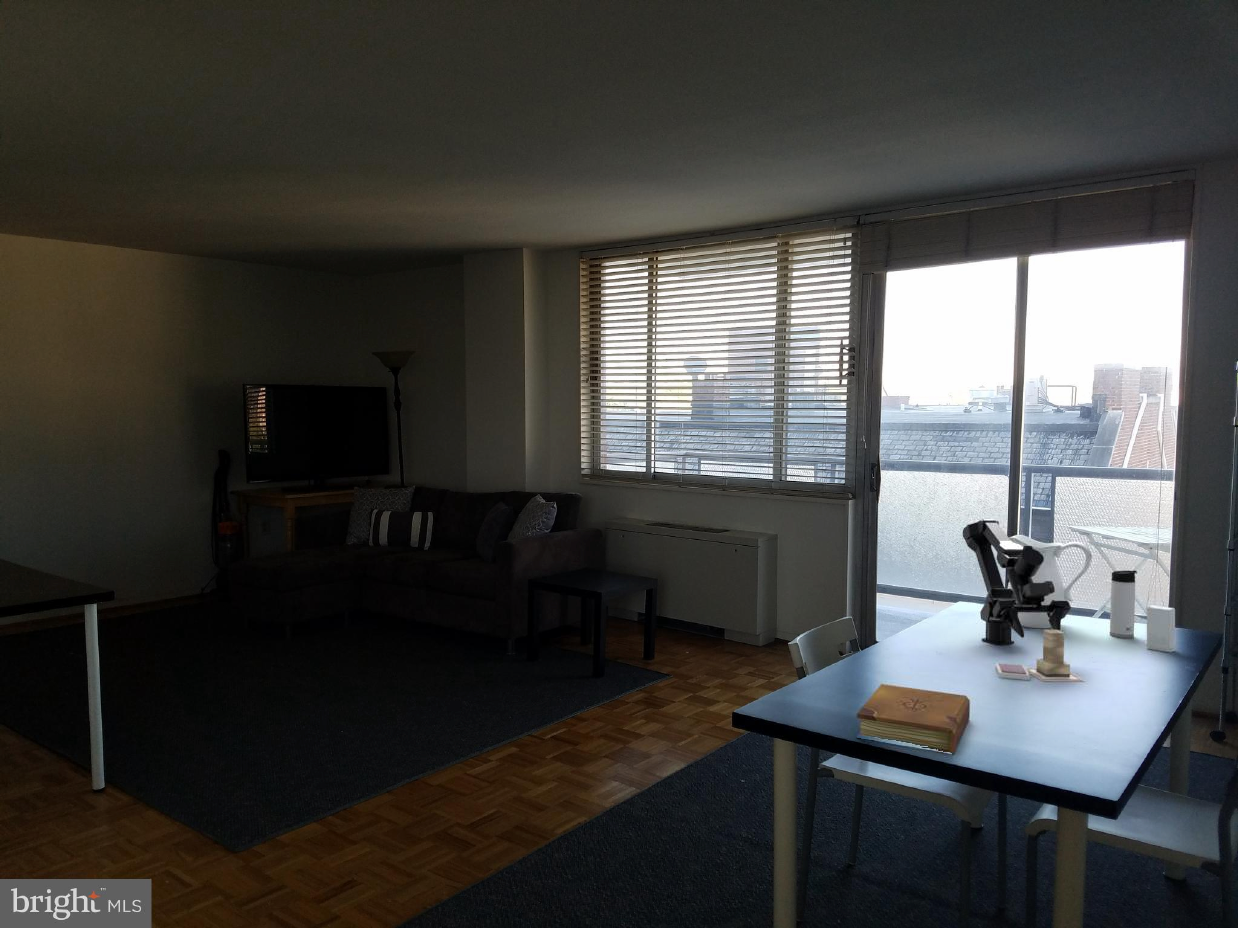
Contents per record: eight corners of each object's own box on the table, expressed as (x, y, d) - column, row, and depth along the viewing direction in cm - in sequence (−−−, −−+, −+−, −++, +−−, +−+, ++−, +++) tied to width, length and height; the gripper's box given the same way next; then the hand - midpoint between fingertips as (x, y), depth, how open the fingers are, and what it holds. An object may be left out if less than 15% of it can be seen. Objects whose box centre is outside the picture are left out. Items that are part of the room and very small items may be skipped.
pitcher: (998, 624, 276) (1000, 537, 274) (1017, 616, 288) (1018, 532, 287) (1081, 637, 259) (1083, 544, 258) (1096, 627, 272) (1099, 539, 270)
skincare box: (1175, 650, 245) (1176, 607, 244) (1169, 653, 242) (1170, 610, 241) (1151, 646, 249) (1152, 604, 249) (1145, 648, 247) (1146, 606, 246)
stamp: (1045, 676, 218) (1046, 633, 218) (1036, 671, 223) (1037, 628, 223) (1069, 676, 218) (1070, 633, 218) (1059, 671, 223) (1060, 628, 223)
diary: (954, 758, 167) (954, 729, 167) (856, 741, 176) (856, 713, 176) (969, 721, 188) (969, 695, 187) (881, 707, 197) (881, 682, 196)
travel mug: (1134, 639, 257) (1136, 572, 256) (1109, 636, 260) (1111, 570, 259) (1135, 635, 262) (1137, 569, 261) (1110, 632, 266) (1112, 567, 265)
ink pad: (995, 667, 227) (995, 662, 227) (1024, 670, 225) (1024, 664, 225) (999, 677, 218) (999, 671, 218) (1029, 679, 216) (1029, 674, 216)
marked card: (1023, 669, 226) (1023, 667, 226) (1063, 669, 226) (1063, 667, 226) (1042, 681, 215) (1042, 679, 215) (1084, 681, 215) (1084, 679, 215)
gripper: (998, 569, 232) (1015, 620, 221) (1068, 569, 231) (1089, 620, 221) (985, 593, 240) (1001, 642, 230) (1053, 593, 240) (1072, 643, 229)
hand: (1041, 636), depth 227 cm, fingers open, 9 cm apart
